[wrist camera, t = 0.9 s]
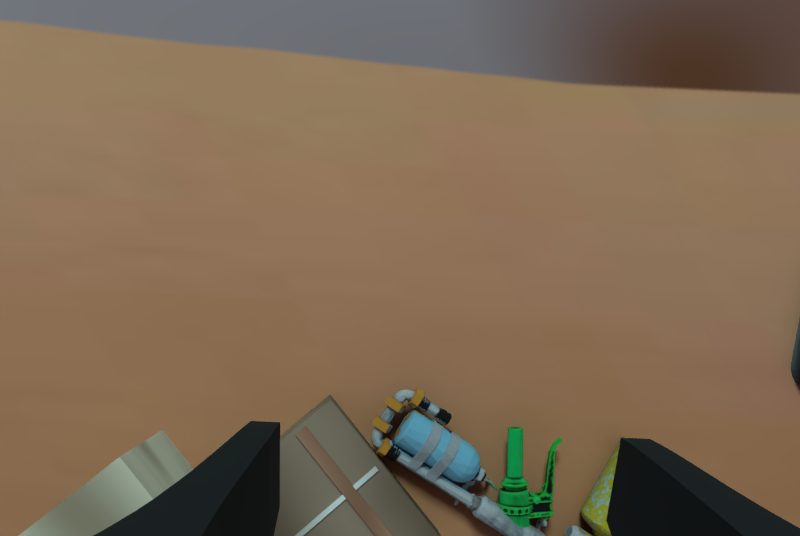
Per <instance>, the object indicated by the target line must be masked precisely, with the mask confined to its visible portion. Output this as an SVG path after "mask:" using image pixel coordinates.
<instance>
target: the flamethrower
mask: <svg viewBox="0 0 800 536" xmlns="http://www.w3.org/2000/svg"><path fill="white" fill-rule="evenodd" d="M405 400H408V404H407V405H409V406H410V407H412V408H413V409H415V408H416V407H419V408H420V409H422V410H423V411H424V412H425V411H427V412H428V413H430V414H431V415H433V416H434V418H436V420H437V419H438V420H439V421H440V422H442V423H443V424H445V425H446V424H448V423H449V421H450V419H451V414H450V413H447V411H446V410H444V409H442V408H440V407H439V406H437V405H435V404H433V403H432V402H430V401H429V400H428V399H427V398H425V397H424V391H422V390H421V389H419V388H417V389H415V390H414V391H410V390H400V391H399V392H397V393H396V394H395V396H394V397H391V396H389V397H388V398H387V400H386V401H385V403H386V404H387V405H388V406H387V408H386V410H385V411H384V413H383V415H382V416H381V417H378V416H376V417H375V419H374V420H373V422H372V424H373V425H374V426H375V428H374V430H373V433H372V442H373V445H374V446H375V447H376V448H377V451H376V454H378V455H379V456H381V457H383V456H387V457H389V459H391V460H394V461H396V462H398V463H400V464H401V465H403V466H404V467H406V468H407V469H409V470H410V471H412V472H414V473H415V474H417V475H418V476H420V477H421V478H423V479H425V480H426V481H428V482H430V483H431V484H433V485H434V486H436V487H438V488H439V489H441V490H442V491H444V492H446V493H447V494H449V495H451V496H452V497H454V498H455V500H454V502H453V503H454V505H457V504H458V503H459V502H461V503H463V504H464V505H466V506H467V508H469V509H470V510H472V514H473V515H474V517H476V518H477V519H479V520H480V521H482V522H484V523H485V524H487V525H488V526H490V527H492V528H493V529H495V530H496V531H498V532H500V533H501V534H503V535H504V536H545V535H544V533H543V532H541V531H540V528H541V525H542V526H543V527H546V526H547V523H548V518H549V516H553V513H554V512H553V511H552V504H551V502H553V500H552V497H553V485H554V465H555V450H556V447H557V445H558V444H559V443H561V442H562V439H561V438H558V439H557V440H555V441H554V442H553V444H552V446H551V448H550V450H549V452H548V460H547V468H546V475H545V481H544V484H543V487H542V490H541V492H536V493H530V494H529V489H527V488H526V487H527V485H528V482H527V481H526V480H525V479H524V478H523V477H522V461H523V428H520V427H508V451H507V477H506V478H505V479H504V480H503V481H502V482H501V485H502V486H503V488H500V489H499V502H497V503H496V502H494V501H493V500H491V499H490V498H488V497H486V496H485V495H483V496H477V495H475V494H470V493H469V492H467V491H468V490H469V489H470V488H471V487H472V486H473V485H474V484H475V482H478V483H479V482H482V481H486V482H487V483H488V484H489V485H490V486H491V487H492V488H493V489H495V490H496V491H498V490H497V488H496V487H495V486H494V485H493V484H492V482H491V481H490V480H489V479H488V478H485V476H486V474H485V470H484V469H482V468H481V466H480V459H479V455H478V453H477V452H476V450H475V449H474V448H473V447H472V446H471V445H470V444H469V443H467V442H465V441H464V440H462V439H461V438H460V436H459V435H457V434H455V433H454V432H452V431H450V430H449V431H448V430H446V429H445V428H443V425H442V424H440V423H439V422H437V421H436V420H434V419H433V420H431V419H430V418H428V417H426V416H425V415H423V414H422V413H420V412H419V411H417V410H416V409H415V410H411V411H410V412H409V413H408V414H407V415H406V416H405V417H404V419H403V421H402V422H401V424H400V426H399V428H398V429H397V431H396V433H395V437H394V443H392V441H391V440H390V439H388V438H387V437H386V438H384V439H382V438H383V435H384V433H388V434H389V432H390V430H391V429H392V427H393V426H391V425H390V424H389V423H390V422H391V420H392V418H393V416H394V415H395V413H396V411H397V412H398V413H402V411H403V410H404V408H405V407H406V406H405V405H403V404H402V403H403V402H404V401H405ZM622 438H627V437H622ZM619 446H620V442H619V444H618V446H617V448H616V449H615V451H614V453H613V455H612V456H611V458H610V460H609V461H608V463H607V465H606V467H605V468H604V470H603V472H602V474H601V475H600V477H599V479H598V480H597V482H596V484H595V486H594V487H593V489H592V491H591V492H590V494H589V496H588V498H587V500H586V501H585V503H584V505H583V507H582V508H581V515H582V517H583V519H584V520H585V521H586V522H587V524H588V525H589V526H590V527H591V528H592V529H593V531H592V532H593V533H594V536H611V533H610V530H609V527H608V524H607V521H606V519H607V513H608V508H609V502H610V497H611V491H612V485H613V480H614V474H615V469H616V463H617V457H618V452H619ZM402 449H403V450H405V451H406V452H405V451H403V450H402ZM407 452H408V453H410V454H408V453H407ZM423 462H424V463H425V464H427V465H425V464H424V463H423ZM441 474H443V475H444V476H446V477H447V478H449V479H451V480H452V481H456V482H464V483H463V484H462V486H461V487H459V486H458V485H456V484H455V483H453V482H452V481H450V480H449V479H447V478H446V477H444V476H443V475H441ZM538 517H539V518H538ZM542 517H543V518H542ZM530 518H538V519H537V523H536V527H533V526H532V525H530V522H529V519H530ZM565 536H593V535H591V534H589V533H588V532H586V531H584V530H583V529H581V528H580V527H579V526H568V527H567V529H566V530H565Z"/></svg>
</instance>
